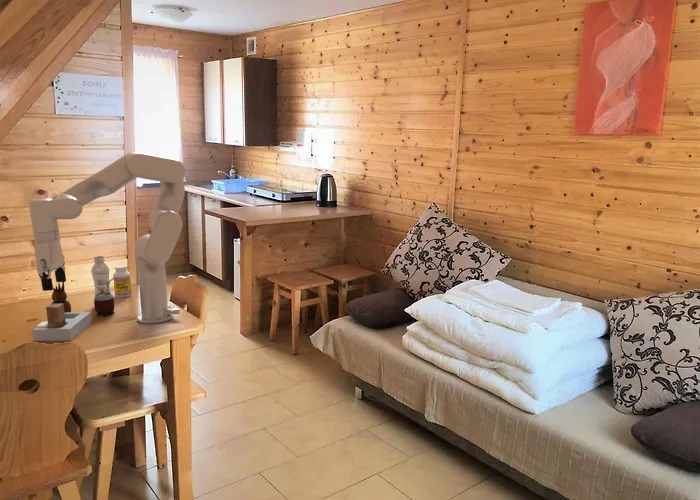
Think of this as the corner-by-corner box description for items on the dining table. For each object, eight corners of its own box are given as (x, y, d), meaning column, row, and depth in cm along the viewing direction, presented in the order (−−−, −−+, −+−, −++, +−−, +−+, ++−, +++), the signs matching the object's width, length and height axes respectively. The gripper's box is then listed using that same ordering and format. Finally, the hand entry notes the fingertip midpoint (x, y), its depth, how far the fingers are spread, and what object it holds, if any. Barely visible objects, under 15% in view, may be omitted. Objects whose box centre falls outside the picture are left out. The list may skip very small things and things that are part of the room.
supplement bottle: (113, 298, 237) (111, 268, 235) (116, 294, 244) (113, 264, 241) (130, 297, 239) (128, 267, 236) (132, 293, 245) (130, 264, 243)
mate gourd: (95, 312, 219) (92, 275, 216) (117, 310, 222) (114, 273, 219) (94, 318, 212) (90, 279, 209) (117, 316, 215) (114, 277, 212)
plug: (66, 331, 196) (63, 303, 194) (61, 335, 192) (58, 307, 190) (54, 331, 196) (51, 303, 194) (49, 335, 192) (46, 307, 190)
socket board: (92, 322, 208) (90, 310, 207) (71, 340, 191) (69, 327, 190) (58, 323, 208) (57, 311, 207) (34, 341, 190) (32, 328, 189)
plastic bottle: (108, 308, 224) (104, 259, 220) (91, 308, 224) (86, 258, 220) (115, 303, 231) (111, 255, 226) (99, 303, 231) (94, 255, 226)
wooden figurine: (74, 317, 213) (70, 279, 210) (68, 322, 208) (63, 283, 205) (56, 318, 213) (51, 279, 210) (49, 323, 207) (44, 283, 204)
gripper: (47, 231, 195) (55, 279, 199) (21, 242, 179) (30, 294, 182) (69, 230, 196) (77, 278, 200) (46, 241, 179) (54, 293, 183)
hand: (54, 286), depth 191 cm, fingers open, 9 cm apart
